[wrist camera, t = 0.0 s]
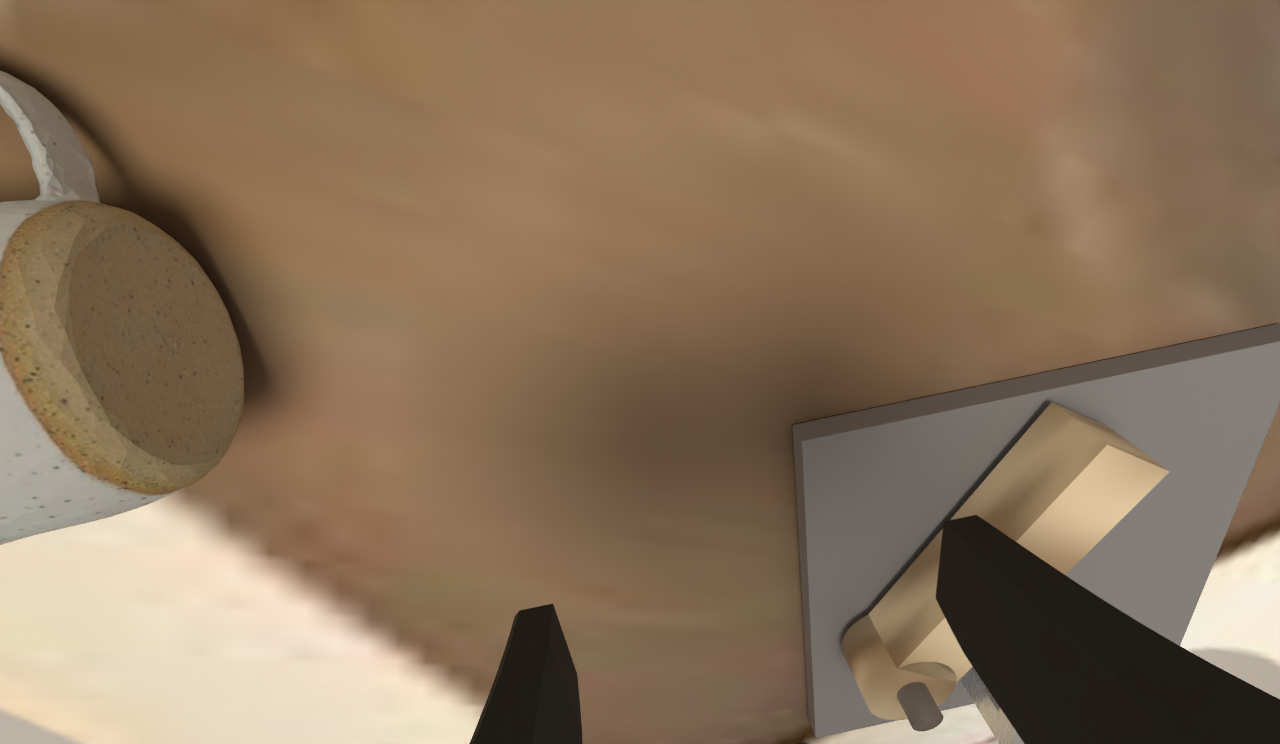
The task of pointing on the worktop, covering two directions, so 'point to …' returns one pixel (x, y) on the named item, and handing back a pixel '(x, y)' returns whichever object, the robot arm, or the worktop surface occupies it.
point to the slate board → (976, 443)
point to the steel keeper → (990, 709)
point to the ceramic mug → (100, 346)
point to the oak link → (1024, 511)
